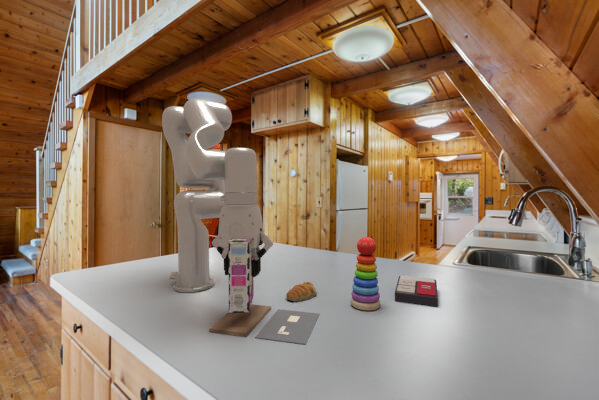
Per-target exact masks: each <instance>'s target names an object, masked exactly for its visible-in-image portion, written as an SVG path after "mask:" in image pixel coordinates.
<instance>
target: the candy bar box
mask: <svg viewBox="0 0 599 400" xmlns="http://www.w3.org/2000/svg"><path fill="white" fill-rule="evenodd" d="M228 243H229V275H228V312H229V313H249V312H250V308H251V304H252V303H253V299H254V294H255V292H254V288H255V287H254V277H252V270H251V261H252V260H253V256H252V253H251V245H250V240H248V239H230V240H229V241H228Z"/></svg>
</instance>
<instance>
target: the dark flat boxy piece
mask: <svg viewBox="0 0 599 400" xmlns="http://www.w3.org/2000/svg"><path fill="white" fill-rule="evenodd" d="M437 284H438V283H437V280H436V279H435V278H431V277H421V276H410V275H404V274H403V275H401V274H400V275H399V276H398V279H397V283H396V287H395V290H394V301H395V302H396V303H403V304H411V305H416V306H425V307H432V308H438V307H439V304H438V303H439V300H438V299H439V297H438V296H439V295H438V288H437V287H438V285H437Z"/></svg>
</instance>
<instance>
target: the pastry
mask: <svg viewBox="0 0 599 400" xmlns="http://www.w3.org/2000/svg"><path fill="white" fill-rule="evenodd" d="M317 294H318V291H317V289H316V287H315V285H314V284H313V283H312V282H310V281H306V282H305V281H304V282H302V283H299V284H296V285H294V286H292V288H290V289H289V291H287V292H286V297H285V299H286V300H287V301H288V300H289V301H291V302H301V301H306V300H309V299H313V298H315V297H316V296H317Z"/></svg>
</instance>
